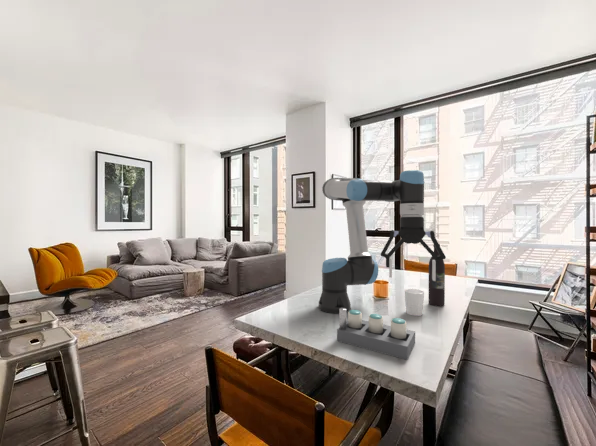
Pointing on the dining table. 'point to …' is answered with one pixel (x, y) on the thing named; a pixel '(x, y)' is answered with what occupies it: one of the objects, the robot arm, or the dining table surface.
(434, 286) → the wine bottle
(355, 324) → the knob
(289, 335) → the dining table surface
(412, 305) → the white cup
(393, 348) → the plate
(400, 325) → the knob
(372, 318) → the knob middle
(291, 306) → the dining table surface
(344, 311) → the grey metal rod
